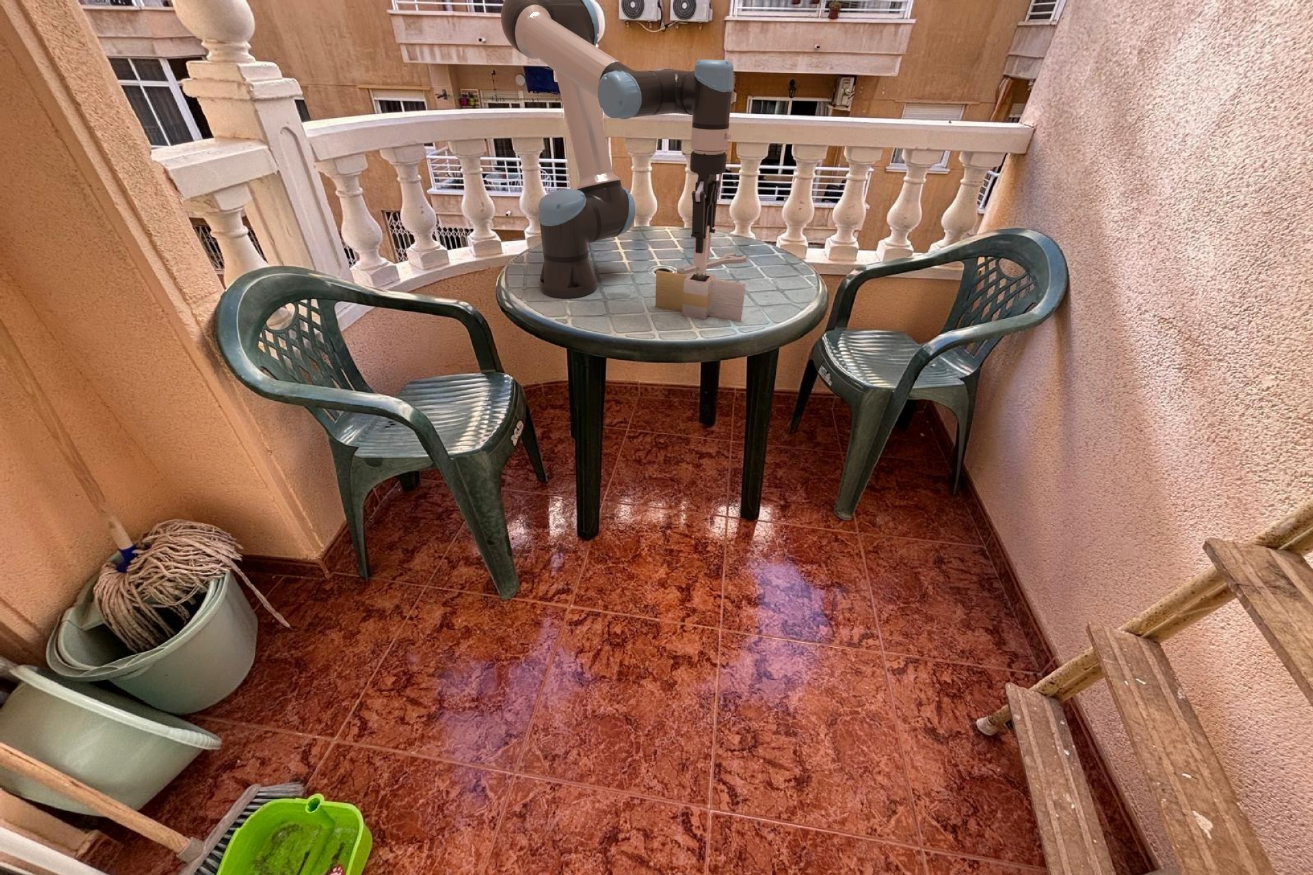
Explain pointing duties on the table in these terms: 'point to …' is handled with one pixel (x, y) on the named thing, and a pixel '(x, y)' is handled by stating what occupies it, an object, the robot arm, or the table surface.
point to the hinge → (699, 296)
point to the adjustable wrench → (715, 263)
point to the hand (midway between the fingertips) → (701, 263)
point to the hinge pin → (701, 271)
